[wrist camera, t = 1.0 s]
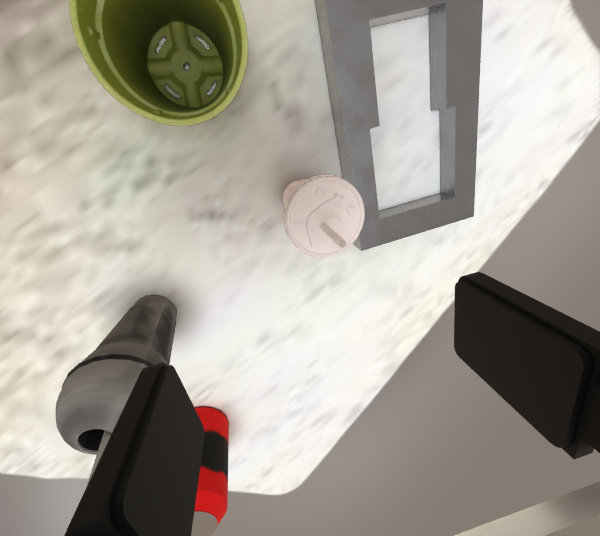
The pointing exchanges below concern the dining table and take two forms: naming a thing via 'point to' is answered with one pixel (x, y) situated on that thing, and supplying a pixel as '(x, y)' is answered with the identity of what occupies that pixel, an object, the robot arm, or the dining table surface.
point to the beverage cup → (113, 374)
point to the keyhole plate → (444, 95)
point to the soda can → (212, 473)
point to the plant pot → (164, 54)
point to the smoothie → (322, 215)
